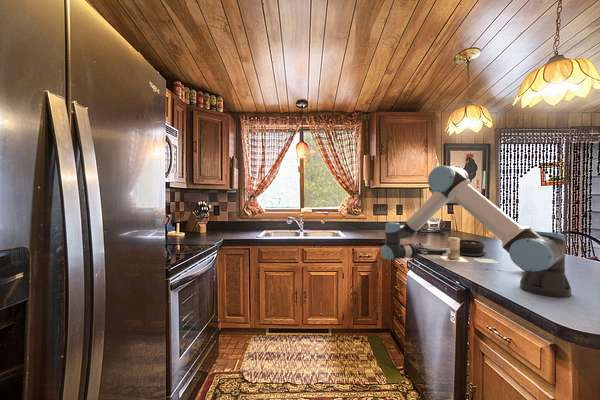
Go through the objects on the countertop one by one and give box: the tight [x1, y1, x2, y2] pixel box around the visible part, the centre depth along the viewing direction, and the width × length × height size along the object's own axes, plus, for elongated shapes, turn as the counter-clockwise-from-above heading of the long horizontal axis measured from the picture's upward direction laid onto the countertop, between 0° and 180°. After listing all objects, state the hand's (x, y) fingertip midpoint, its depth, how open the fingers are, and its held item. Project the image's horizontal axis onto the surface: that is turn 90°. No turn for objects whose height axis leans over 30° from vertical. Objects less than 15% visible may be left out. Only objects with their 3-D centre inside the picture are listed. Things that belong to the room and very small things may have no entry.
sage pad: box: [472, 257, 501, 265], centre depth 155 cm, size 10×10×1 cm
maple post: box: [447, 236, 461, 260], centre depth 160 cm, size 6×6×12 cm
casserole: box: [460, 239, 487, 257], centre depth 176 cm, size 25×19×8 cm
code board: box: [439, 255, 469, 263], centre depth 160 cm, size 12×12×1 cm
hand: (440, 248), depth 158 cm, fingers open, 13 cm apart
